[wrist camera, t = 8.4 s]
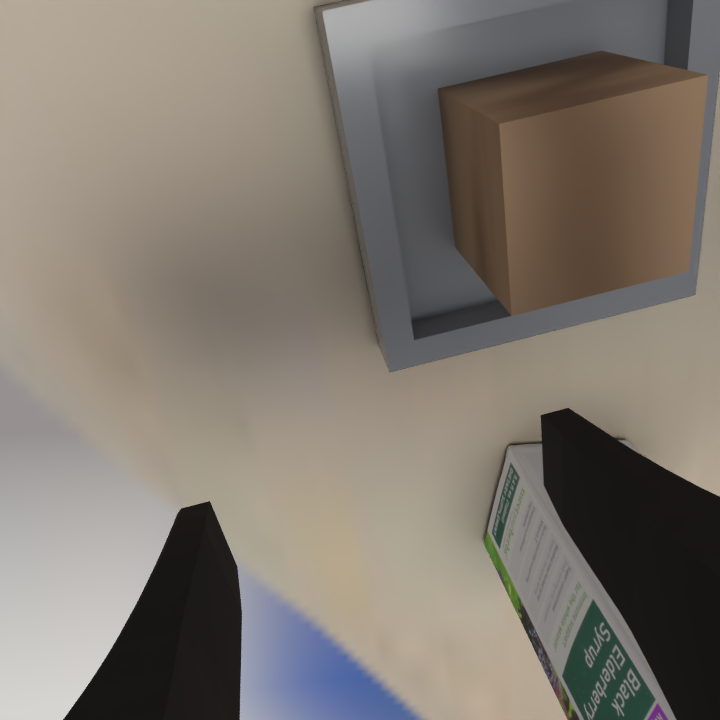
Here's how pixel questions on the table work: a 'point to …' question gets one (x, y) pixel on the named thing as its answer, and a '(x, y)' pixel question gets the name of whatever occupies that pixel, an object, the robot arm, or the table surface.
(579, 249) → the walnut cube
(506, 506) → the syrup box
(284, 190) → the table surface
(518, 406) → the table surface
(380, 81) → the grey dish
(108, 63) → the table surface
